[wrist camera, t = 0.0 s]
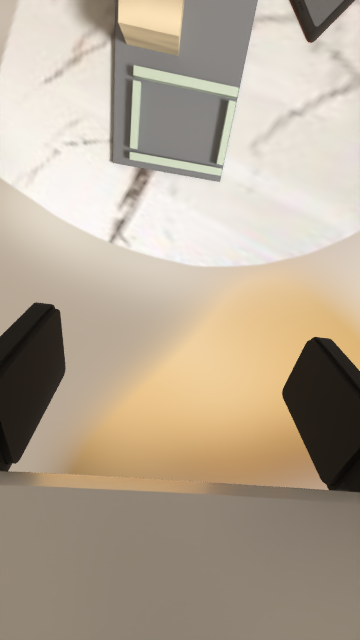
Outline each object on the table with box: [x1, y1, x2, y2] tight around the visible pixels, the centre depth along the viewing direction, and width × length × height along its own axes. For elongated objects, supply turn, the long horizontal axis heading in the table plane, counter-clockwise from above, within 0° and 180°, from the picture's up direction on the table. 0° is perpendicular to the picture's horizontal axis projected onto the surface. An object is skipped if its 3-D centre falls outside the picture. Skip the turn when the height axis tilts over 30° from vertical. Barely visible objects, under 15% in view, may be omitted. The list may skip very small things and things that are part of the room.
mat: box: [113, 0, 258, 182], centre depth 28 cm, size 20×14×2 cm
